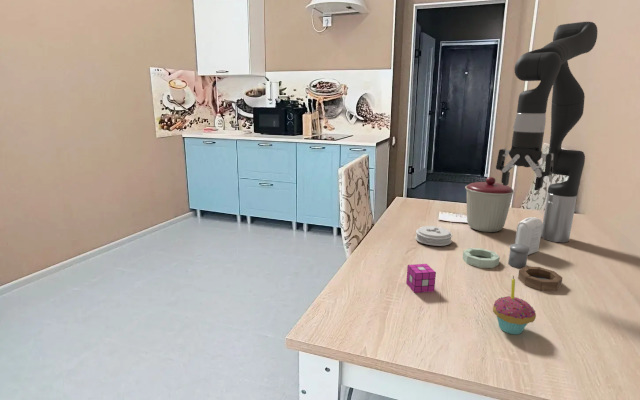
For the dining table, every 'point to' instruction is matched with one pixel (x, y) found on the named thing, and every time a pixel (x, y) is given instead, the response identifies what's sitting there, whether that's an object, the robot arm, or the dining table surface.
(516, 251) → the cap
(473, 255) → the sage ring
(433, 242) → the lid
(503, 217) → the canister
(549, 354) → the dining table surface
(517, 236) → the photo printer
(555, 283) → the walnut ring
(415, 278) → the puzzle toy
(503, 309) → the cupcake
